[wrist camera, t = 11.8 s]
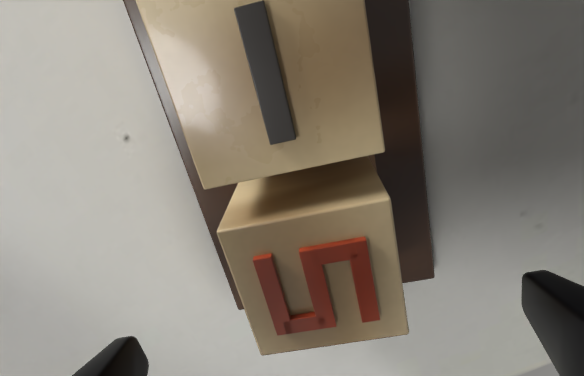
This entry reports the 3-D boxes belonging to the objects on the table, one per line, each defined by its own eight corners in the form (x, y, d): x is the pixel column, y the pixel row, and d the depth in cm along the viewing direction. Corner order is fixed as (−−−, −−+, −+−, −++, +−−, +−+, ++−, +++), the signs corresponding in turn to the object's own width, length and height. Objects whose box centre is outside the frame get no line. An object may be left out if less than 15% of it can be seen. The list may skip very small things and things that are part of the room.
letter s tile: (366, 151, 12) (393, 201, 8) (383, 260, 13) (411, 340, 10) (239, 178, 12) (212, 235, 9) (271, 280, 14) (259, 362, 10)
